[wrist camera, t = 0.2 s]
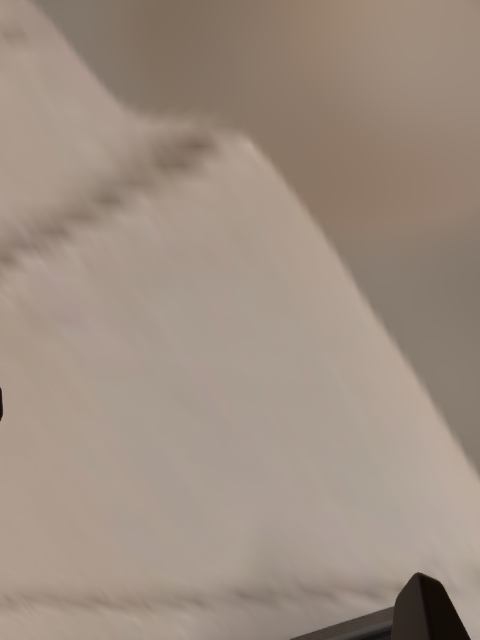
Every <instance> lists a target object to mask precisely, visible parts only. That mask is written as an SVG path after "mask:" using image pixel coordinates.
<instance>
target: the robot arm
mask: <svg viewBox="0 0 480 640" xmlns="http://www.w3.org/2000/svg"><path fill="white" fill-rule="evenodd" d="M2 415H3V404H2V390H1V388H0V421H1V418H2ZM391 640H471V639H470V637H469V635H468V633H467V631H466V629H465V627H464V625H463V623H462V621H461V620H460V618H459V616H458V614H457V612H456V610H455V608H454V606H453V604H452V602H451V600H450V598H449V596H448V594H447V592H446V590H445V588H444V587H443V585H442V584H441V583H440V582H439V581H438V580H436V579H434V578H432V577H429V576H427V575H425V574H423V573H420V572H418V573H415V574H414V575H413V576H412V577H411V579H410V580H409V581H408V583H407V584H406V585H405V587H404V588H403V589H402V591H401V592H400V593H399V595H398V597H397V599H396V602H395V606H394V614H393V623H392V632H391Z"/></svg>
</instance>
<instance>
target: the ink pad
mask: <svg viewBox="0 0 480 640" xmlns="http://www.w3.org/2000/svg"><path fill="white" fill-rule="evenodd" d="M393 614H394V607H391V608H388V609H385V610H381V611H378V612H375V613H372V614H369V615H366V616H363V617H359V618H356V619H353V620H350V621H347V622H344V623H340V624H337V625H334V626H331V627H328V628H325V629H321V630H318V631H315V632H312V633H309V634H306V635H302V636H299V637H296V638H293V639H290V640H391V632H392V623H393Z"/></svg>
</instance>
